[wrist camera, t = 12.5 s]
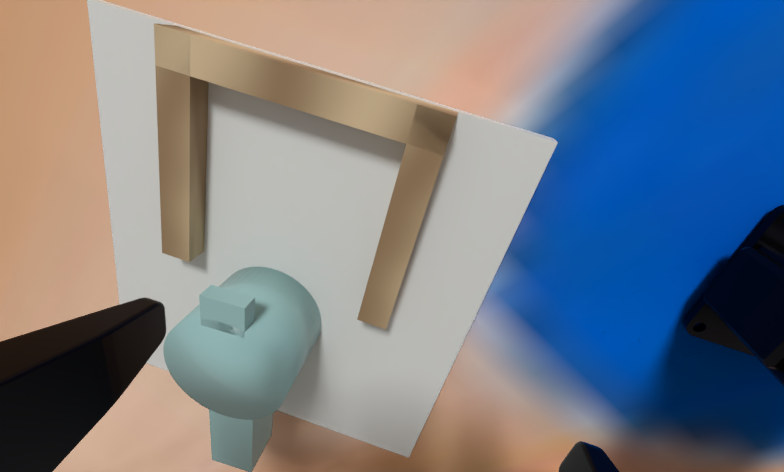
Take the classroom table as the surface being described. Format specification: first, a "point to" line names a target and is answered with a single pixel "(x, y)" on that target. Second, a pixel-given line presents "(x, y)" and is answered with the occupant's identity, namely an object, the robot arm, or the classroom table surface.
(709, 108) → the classroom table surface
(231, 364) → the teal dome with tabs
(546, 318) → the classroom table surface
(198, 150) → the cradle
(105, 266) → the classroom table surface
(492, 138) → the board
